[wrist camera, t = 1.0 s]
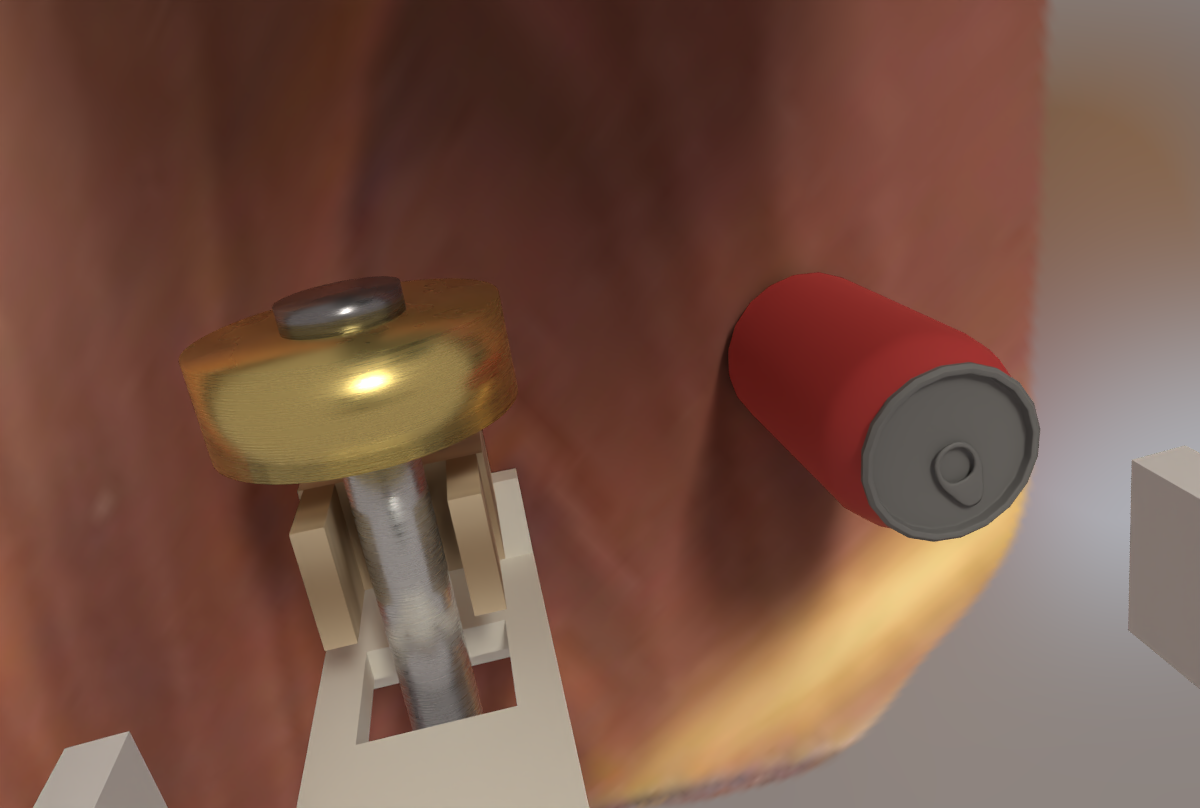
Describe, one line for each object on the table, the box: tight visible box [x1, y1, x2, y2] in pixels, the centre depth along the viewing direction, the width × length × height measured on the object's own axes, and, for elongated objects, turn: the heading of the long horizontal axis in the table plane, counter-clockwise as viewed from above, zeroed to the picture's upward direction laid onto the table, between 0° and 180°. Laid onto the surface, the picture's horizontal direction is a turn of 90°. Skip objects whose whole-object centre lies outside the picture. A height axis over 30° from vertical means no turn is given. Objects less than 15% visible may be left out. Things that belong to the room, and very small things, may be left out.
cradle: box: [289, 430, 507, 651], centre depth 32 cm, size 4×6×10 cm, turn 99°
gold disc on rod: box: [179, 276, 518, 731], centre depth 29 cm, size 18×9×9 cm, turn 9°
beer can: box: [728, 272, 1040, 542], centre depth 32 cm, size 7×7×12 cm
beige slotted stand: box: [297, 468, 589, 808], centre depth 31 cm, size 8×8×16 cm
